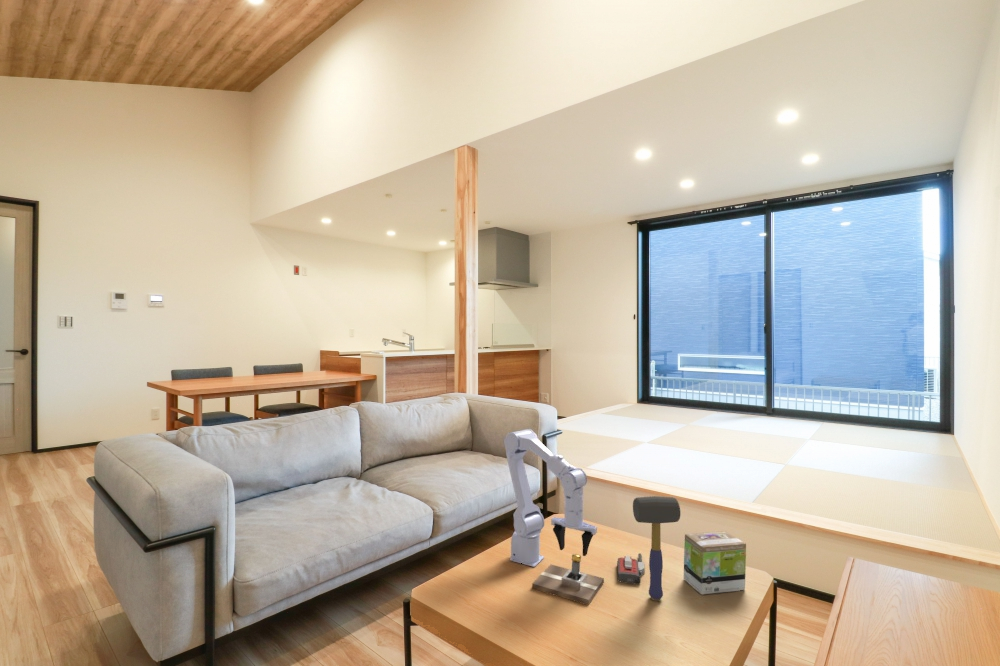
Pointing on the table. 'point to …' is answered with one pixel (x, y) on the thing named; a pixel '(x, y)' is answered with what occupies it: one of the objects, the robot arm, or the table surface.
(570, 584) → the pilot socket
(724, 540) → the tea box
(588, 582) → the board
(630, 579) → the walkie-talkie
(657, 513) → the rubber mallet
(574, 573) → the gold-capped cylinder
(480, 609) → the table surface
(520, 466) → the robot arm
